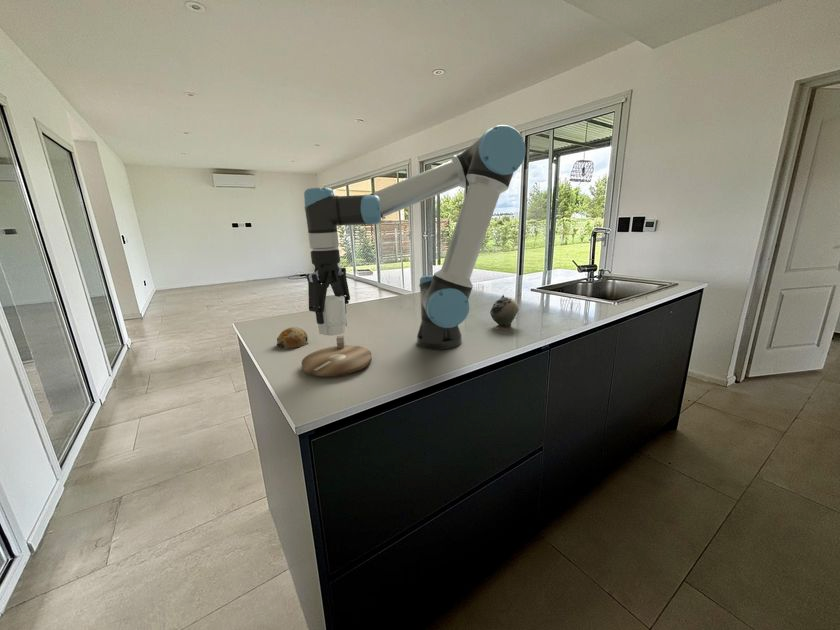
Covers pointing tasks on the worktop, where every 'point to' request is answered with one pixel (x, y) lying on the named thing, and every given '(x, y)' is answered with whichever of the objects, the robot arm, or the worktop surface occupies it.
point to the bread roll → (292, 338)
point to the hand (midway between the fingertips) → (333, 329)
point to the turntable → (336, 359)
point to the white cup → (335, 314)
